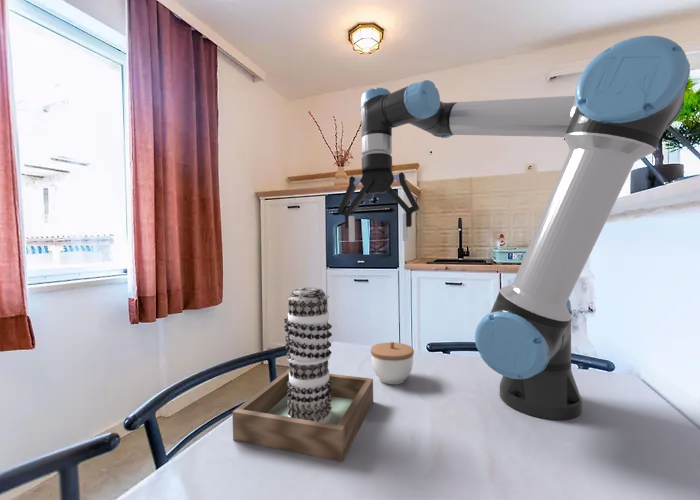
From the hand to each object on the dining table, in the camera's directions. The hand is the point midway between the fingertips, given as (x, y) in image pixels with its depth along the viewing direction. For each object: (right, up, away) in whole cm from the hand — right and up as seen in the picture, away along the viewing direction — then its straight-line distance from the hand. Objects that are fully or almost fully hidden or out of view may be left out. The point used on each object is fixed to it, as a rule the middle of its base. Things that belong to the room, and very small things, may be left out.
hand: (377, 241), depth 82 cm
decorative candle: (-15, -35, -18) cm, 42 cm away
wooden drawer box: (-15, -35, -17) cm, 42 cm away
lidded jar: (+4, -35, +1) cm, 35 cm away
